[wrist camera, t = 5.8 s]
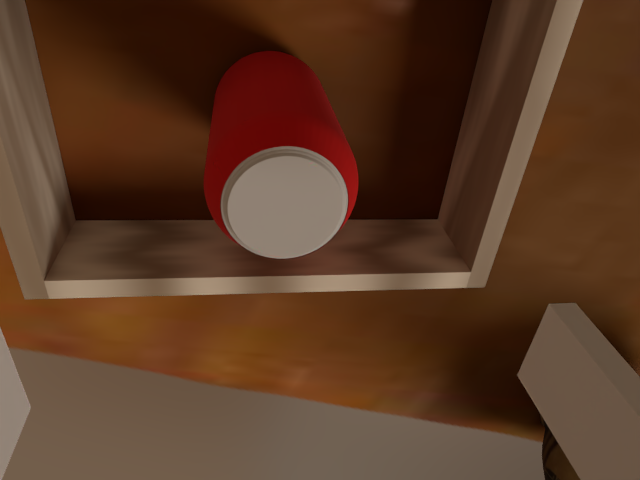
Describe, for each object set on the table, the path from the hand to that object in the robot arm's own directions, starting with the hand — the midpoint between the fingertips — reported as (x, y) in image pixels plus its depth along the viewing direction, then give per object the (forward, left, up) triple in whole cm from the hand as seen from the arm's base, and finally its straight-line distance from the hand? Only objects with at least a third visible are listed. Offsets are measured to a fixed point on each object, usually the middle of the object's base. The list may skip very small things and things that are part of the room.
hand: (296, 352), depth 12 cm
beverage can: (0, 0, -19) cm, 19 cm away
